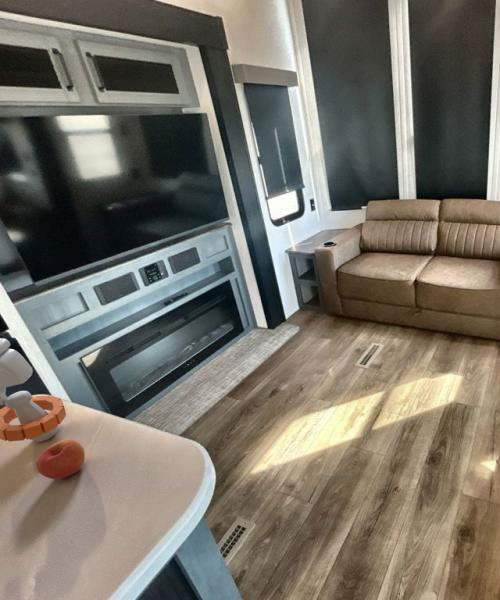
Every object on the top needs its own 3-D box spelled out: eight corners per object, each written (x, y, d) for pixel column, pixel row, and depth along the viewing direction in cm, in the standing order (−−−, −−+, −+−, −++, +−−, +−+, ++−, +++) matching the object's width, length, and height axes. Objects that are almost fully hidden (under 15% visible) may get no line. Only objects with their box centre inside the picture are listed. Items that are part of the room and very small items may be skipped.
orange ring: (-20, 443, 79) (-24, 433, 77) (15, 406, 89) (12, 396, 88) (49, 438, 82) (46, 428, 81) (75, 403, 93) (72, 394, 91)
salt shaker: (31, 437, 88) (-3, 397, 82) (60, 422, 92) (30, 383, 85) (33, 449, 84) (-3, 408, 78) (63, 433, 88) (32, 393, 82)
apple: (86, 451, 82) (66, 426, 78) (97, 466, 78) (78, 440, 74) (45, 477, 77) (23, 451, 73) (55, 493, 73) (32, 467, 69)
